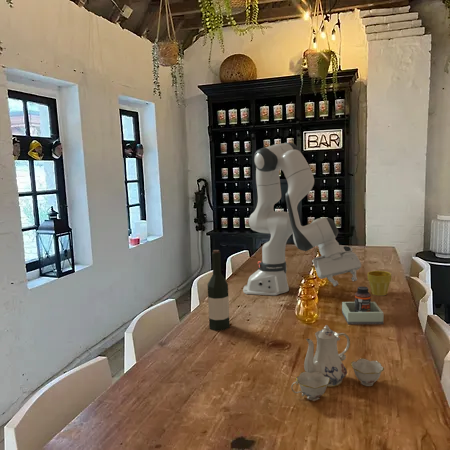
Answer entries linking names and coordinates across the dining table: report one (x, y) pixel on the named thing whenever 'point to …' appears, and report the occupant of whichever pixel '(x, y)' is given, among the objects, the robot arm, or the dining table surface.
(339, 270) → the robot arm
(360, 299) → the supplement bottle
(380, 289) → the plant pot
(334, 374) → the chinaware
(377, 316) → the grey-green square tray
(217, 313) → the wine bottle
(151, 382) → the dining table surface
